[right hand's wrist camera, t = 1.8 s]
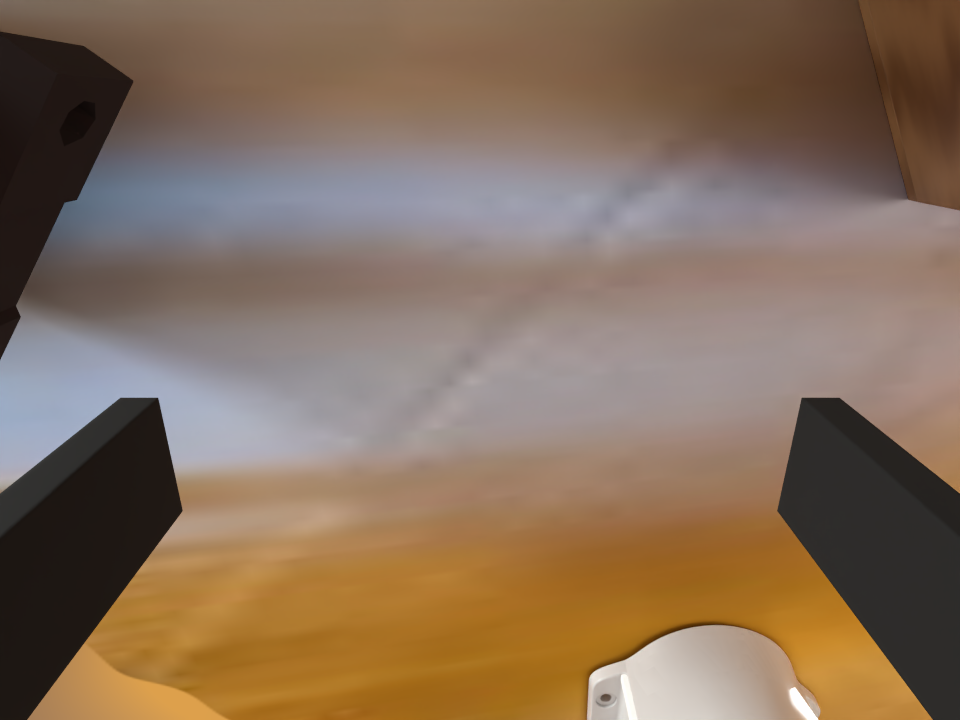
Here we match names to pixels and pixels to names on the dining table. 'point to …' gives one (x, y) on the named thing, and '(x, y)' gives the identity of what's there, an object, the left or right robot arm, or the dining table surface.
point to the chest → (920, 90)
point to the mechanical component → (45, 147)
